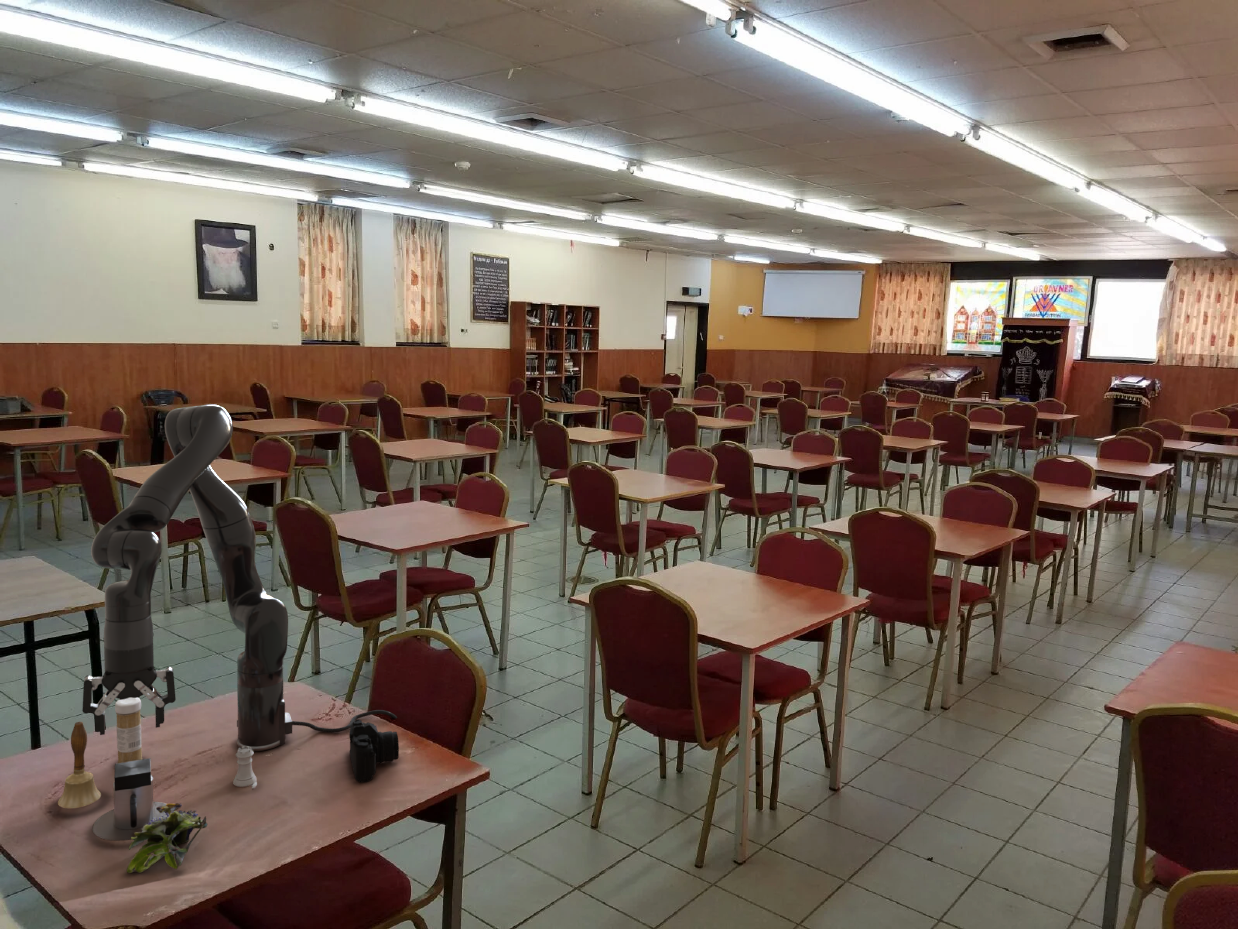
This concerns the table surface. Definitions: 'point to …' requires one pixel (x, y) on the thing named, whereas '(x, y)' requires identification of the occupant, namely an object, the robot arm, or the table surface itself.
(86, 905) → the table surface
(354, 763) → the film camera
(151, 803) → the black-lidded handled container
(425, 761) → the table surface
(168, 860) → the passion flower
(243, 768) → the rook chess piece
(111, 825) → the disc
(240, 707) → the robot arm
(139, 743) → the sprinkles bottle
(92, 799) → the hand bell
